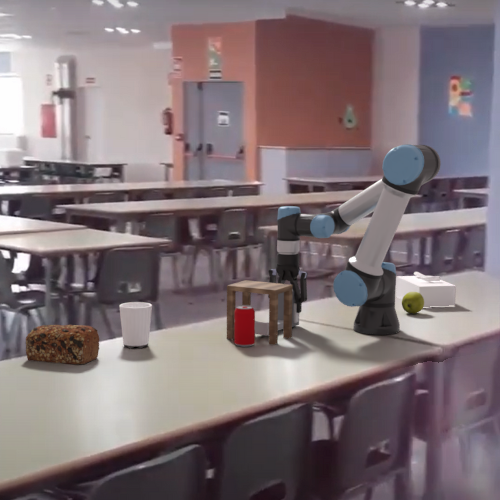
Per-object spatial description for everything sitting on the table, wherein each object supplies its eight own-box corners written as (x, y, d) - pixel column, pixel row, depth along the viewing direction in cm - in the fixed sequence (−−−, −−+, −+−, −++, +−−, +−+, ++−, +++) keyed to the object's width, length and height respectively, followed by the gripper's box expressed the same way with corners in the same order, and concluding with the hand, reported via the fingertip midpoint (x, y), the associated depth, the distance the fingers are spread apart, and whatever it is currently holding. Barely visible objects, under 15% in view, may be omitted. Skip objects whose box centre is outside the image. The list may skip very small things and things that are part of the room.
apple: (427, 312, 336) (428, 291, 335) (417, 316, 329) (418, 294, 328) (407, 310, 340) (408, 289, 339) (397, 314, 333) (398, 292, 332)
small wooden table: (291, 337, 294) (292, 284, 292) (274, 344, 283) (275, 290, 281) (244, 331, 302) (245, 280, 300) (226, 338, 291) (226, 285, 289)
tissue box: (418, 309, 344) (419, 280, 343) (395, 297, 368) (396, 270, 367) (455, 308, 347) (456, 279, 345) (429, 296, 371) (430, 269, 370)
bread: (100, 358, 265) (100, 324, 264) (82, 366, 255) (81, 331, 254) (44, 352, 272) (43, 319, 270) (24, 360, 262) (23, 326, 260)
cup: (158, 344, 282) (158, 303, 281) (141, 351, 273) (141, 309, 272) (130, 341, 286) (130, 300, 285) (113, 347, 278) (112, 306, 276)
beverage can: (253, 342, 286) (254, 304, 284) (255, 347, 280) (255, 308, 278) (233, 342, 285) (233, 304, 284) (235, 347, 279) (235, 308, 278)
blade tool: (299, 324, 311) (300, 289, 310) (267, 335, 291) (268, 297, 290) (283, 322, 314) (284, 287, 313) (250, 333, 294) (251, 296, 292)
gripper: (318, 253, 305) (317, 322, 308) (268, 249, 314) (267, 316, 317) (309, 256, 299) (308, 326, 302) (257, 252, 308) (257, 320, 311)
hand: (287, 320), depth 310 cm, fingers closed on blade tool, 6 cm apart
